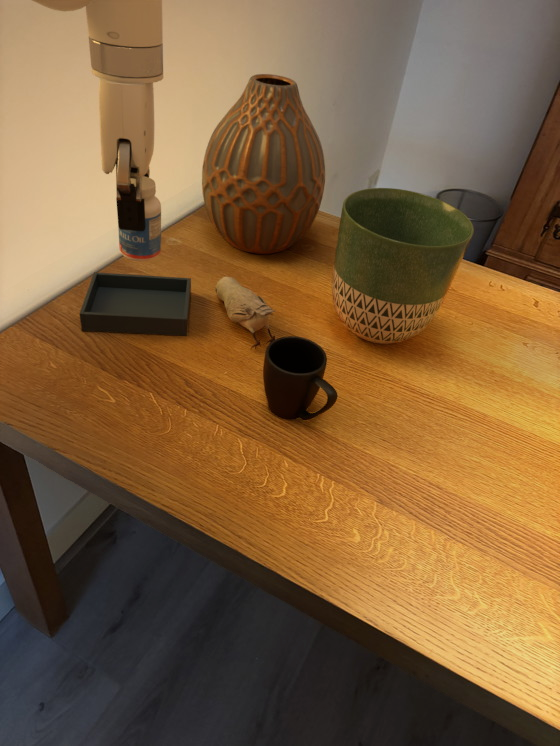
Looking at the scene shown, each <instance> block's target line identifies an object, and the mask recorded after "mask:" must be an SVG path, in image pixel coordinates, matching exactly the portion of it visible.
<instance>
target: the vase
mask: <svg viewBox="0 0 560 746" xmlns="http://www.w3.org/2000/svg"><path fill="white" fill-rule="evenodd" d="M300 95H301V94H300V91H299V87H298V83H297V82H296V81H295V80H294V79H292V78H289V77H286V76H284V75H278V74H272V73H271V74H270V73H258V74H254V75H252V76H250V77H249V79H248V81H247V84H246V85H245V88H244V90H243V92H242V93H241V95H240V97H239V98H237V101H236V102H235V103H234V104H233V105H232V106H231V107H230V108H229V110H228V111H227V112H226V113H225V114H224V116H223V117H222V118H221V120H220V121H219V122H218V123H217V125H216V126H215V128H214V129H213V132H212V133H211V136H210V137H209V141H208V142H207V146H206V149H205V153H204V157H203V162H202V171H201V189H202V190H201V191H202V197H203V203H204V206H205V210H206V213H207V216H208V218H209V221H210V224H212V225H213V227H214V229H215V230H216V232H217V233H218V234H219V235H220V236H221V237H222V238H223V239H224V240H225V241H226V242H227V243H228V244H229V245H231V246H232V247H234V248H236V249H238V250H240V251H243V252H247V253H251V254H256V255H271V254H276V253H277V254H278V253H280V252H283V251H285V250H287V249H289V248H290V247H292V246H293V245H295V244H297V242H299V241H300V240H301V239H302V238H303V237H304V236H305V235H307V233H308V232H309V230H310V228H311V227H312V225H313V224H314V221H315V220H316V218H317V216H318V213H319V210H320V208H321V205H322V200H323V197H324V193H325V186H326V162H325V154H324V150H323V145H322V142H321V140H320V137H319V135H318V133H317V130H316V129H315V127H314V125H313V123H312V120H311V118H310V117H309V115H308V113H307V111H306V109H305V107H304V104H303V101H302V98H301V96H300Z"/></svg>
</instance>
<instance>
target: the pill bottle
mask: <svg viewBox="0 0 560 746" xmlns="http://www.w3.org/2000/svg"><path fill="white" fill-rule="evenodd" d="M130 180H131V184H134V185H135V187H136V179H132V178H130ZM156 187H157V186H156V182H155V180H154V179H152V178H151V177H149V178H148V177H145V176H142V199H144V202H145V226H146V227H145V230H144V231H133V230H122V229H120V228H119V227H118V226H117V228H118V246H119V252H120V254H121V255H122V256H123V257H125V258H126V259H127V260H129V261H135V262H147V261H152V260H154V259H156V258H158V257H159V256H160V254H161V252H162V203H161V201H160V199H159V198H158V197H157V196H156V192H157V190H156V189H157V188H156Z"/></svg>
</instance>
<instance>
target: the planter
mask: <svg viewBox="0 0 560 746" xmlns="http://www.w3.org/2000/svg"><path fill="white" fill-rule="evenodd" d="M474 229H475V228H474V225H473V223H472V221H471V220H470V219H469V217H468V216H467V215H466V214H465V213H464V212H462V211H461V210H459V209H458V208H457V207H455V206H453V205H451V204H450V203H447V202H446V201H443V200H441V199H439V198H436V197H434V196H431V195H427V194H424V193H420V192H416V191H412V190H407V189H401V188H394V187H372V188H364V189H360V190H357V191H354V192H352V193H350V194H349V195H347V196H346V198H344V200H343V202H342V208H341V213H340V219H339V227H338V234H337V239H336V240H337V241H336V249H335V255H334V263H333V270H332V277H331V293H332V294H331V295H332V302H333V307H334V310H335V312H336V314H337V316H338V317H339V319H340V321H341V322H342V324H343V325H344V326H345V327H346V328H347V329H348V330H349V331H350V332H351V333H353V334H354V335H356V336H357V337H358V338H361V339H362V340H364V341H368V342H370V343H374V344H380V345H381V344H382V345H389V344H396V343H401V342H405V341H406V340H409V339H412V338H414V337H415V336H418V335H419V334H420V333H421V332H423V331H424V330H425V329H426V328H427V327H428V326H429V325H430V324H431V322H432V321H433V320H434V318H435V317H436V315H437V314H438V312H439V311H440V309H441V307H442V305H443V303H444V301H445V299H446V296H447V294H448V292H449V290H450V288H451V285H452V284H453V282H454V279H455V276H456V274H457V272H458V269H459V268H460V265H461V264H462V261H463V259H464V257H465V255H466V252H467V250H468V249H469V245H470V243H471V240H472V239H473V235H474V231H475V230H474Z"/></svg>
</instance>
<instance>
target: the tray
mask: <svg viewBox="0 0 560 746" xmlns="http://www.w3.org/2000/svg"><path fill="white" fill-rule="evenodd" d="M191 294H192V278H191V277H179V276H178V277H176V276H175V277H174V276H161V275H160V276H159V275H147V274H146V275H145V274H144V275H142V274H130V273H128V274H127V273H114V272H113V273H111V272H97V271H96V272H95V271H94V272H93V274H92V277H91V280H90V281H89V285H88V289H87V290H86V294H85V296H84V299H83V302H82V305H81V308H80V311H79V322H80V326H81V331H82V332H99V333H118V334H119V333H120V334H137V335H138V334H140V335H141V334H142V335H157V336H158V335H159V336H160V335H161V336H178V337H179V336H181V337H187V336H188V330H189V318H190V308H191V307H190V306H191V298H192V297H191Z"/></svg>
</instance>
